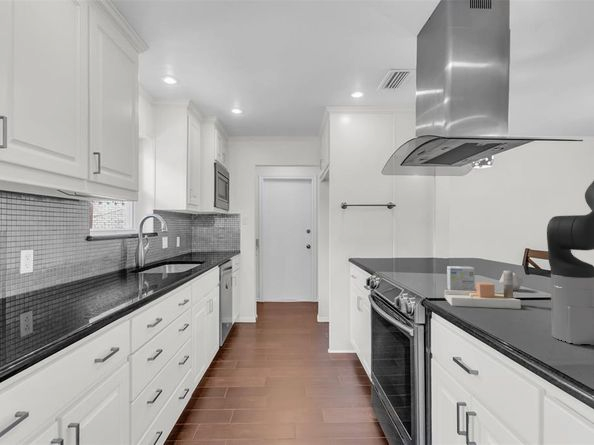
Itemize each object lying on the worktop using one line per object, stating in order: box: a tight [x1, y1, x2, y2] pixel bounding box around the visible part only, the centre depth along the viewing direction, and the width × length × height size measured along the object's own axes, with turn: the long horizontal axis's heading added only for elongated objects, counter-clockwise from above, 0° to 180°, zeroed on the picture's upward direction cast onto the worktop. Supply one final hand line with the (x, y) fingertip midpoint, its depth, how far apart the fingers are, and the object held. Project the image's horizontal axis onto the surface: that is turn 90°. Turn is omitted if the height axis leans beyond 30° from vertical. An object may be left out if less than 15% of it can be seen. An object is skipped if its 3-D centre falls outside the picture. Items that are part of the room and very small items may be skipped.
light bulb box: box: [446, 265, 476, 291], centre depth 151 cm, size 11×7×11 cm, turn 78°
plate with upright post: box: [469, 269, 516, 299], centre depth 127 cm, size 11×14×11 cm
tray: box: [444, 289, 522, 310], centre depth 128 cm, size 14×23×3 cm, turn 76°
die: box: [498, 272, 524, 291], centre depth 150 cm, size 8×9×10 cm
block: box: [475, 281, 496, 298], centre depth 127 cm, size 5×5×5 cm
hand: (553, 236), depth 116 cm, fingers open, 8 cm apart
